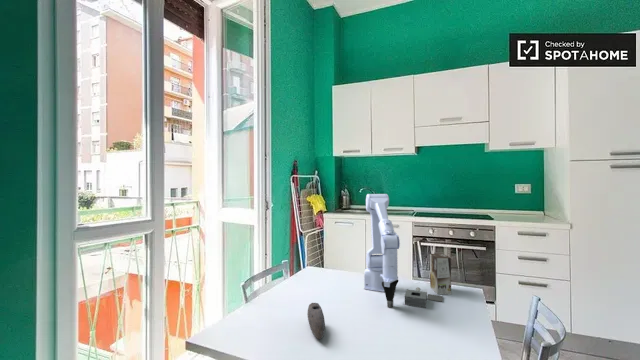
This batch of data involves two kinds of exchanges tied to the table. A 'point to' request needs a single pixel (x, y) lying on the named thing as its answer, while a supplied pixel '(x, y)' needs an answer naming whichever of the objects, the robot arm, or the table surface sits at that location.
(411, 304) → the block
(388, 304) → the key peg
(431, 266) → the coffee box
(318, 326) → the perforated stone tool
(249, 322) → the table surface
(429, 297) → the mat
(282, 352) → the table surface
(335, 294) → the table surface
